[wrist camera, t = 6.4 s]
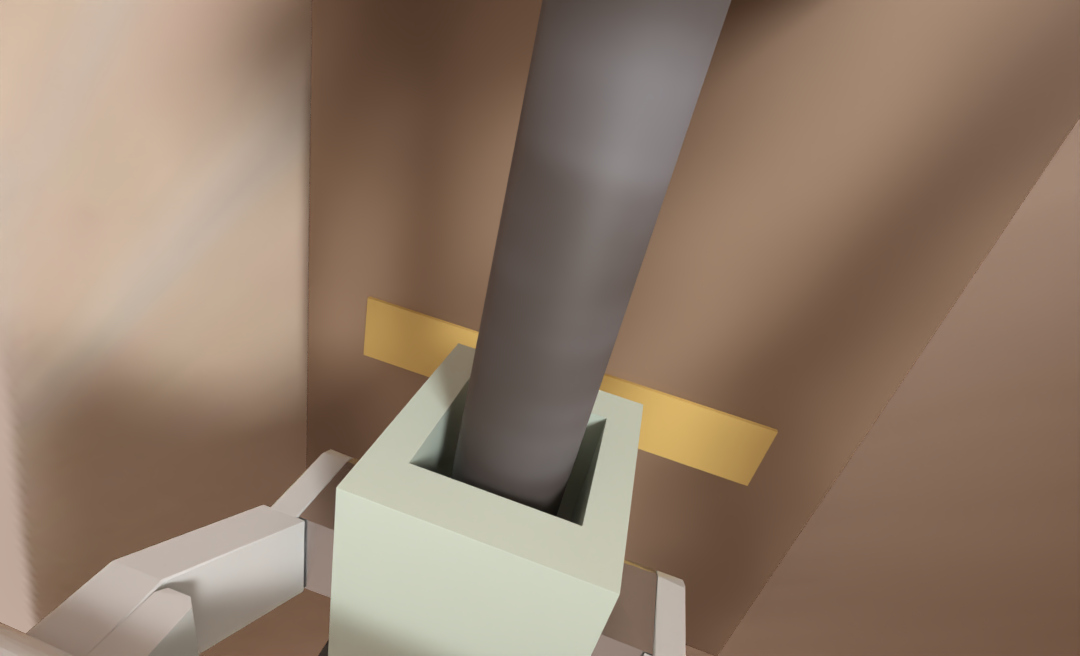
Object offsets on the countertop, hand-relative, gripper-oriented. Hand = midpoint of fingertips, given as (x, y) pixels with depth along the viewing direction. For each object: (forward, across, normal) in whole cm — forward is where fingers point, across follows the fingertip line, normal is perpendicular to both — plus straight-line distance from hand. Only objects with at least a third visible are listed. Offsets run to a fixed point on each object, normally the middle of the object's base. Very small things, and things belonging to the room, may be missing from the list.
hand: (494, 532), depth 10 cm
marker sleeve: (+2, 0, 0) cm, 2 cm away
